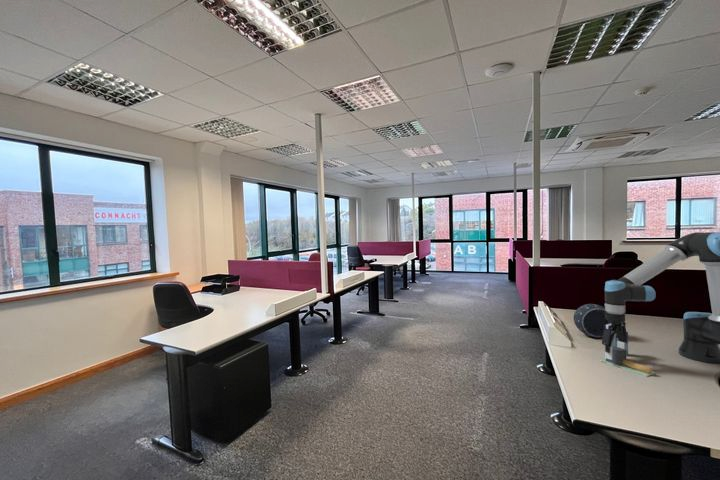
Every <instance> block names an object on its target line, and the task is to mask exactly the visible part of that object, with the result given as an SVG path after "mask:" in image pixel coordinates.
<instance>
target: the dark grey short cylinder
mask: <svg viewBox="0 0 720 480" xmlns="http://www.w3.org/2000/svg"><path fill="white" fill-rule="evenodd" d="M605 312H606V311H605V306H602V305H600V304H594V303H586V304H583V305H581V306H579V307H577V309H576V310H575V311H574V314H573V323H574V325H575V327H576V328H577V329H578V330H579V332H581V333H583V334H584V335H586V336H589V337H592V338H595V339H597V338H603V333H604V324H606V325H608V322H609V321H608V320H606V319H605Z"/></svg>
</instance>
